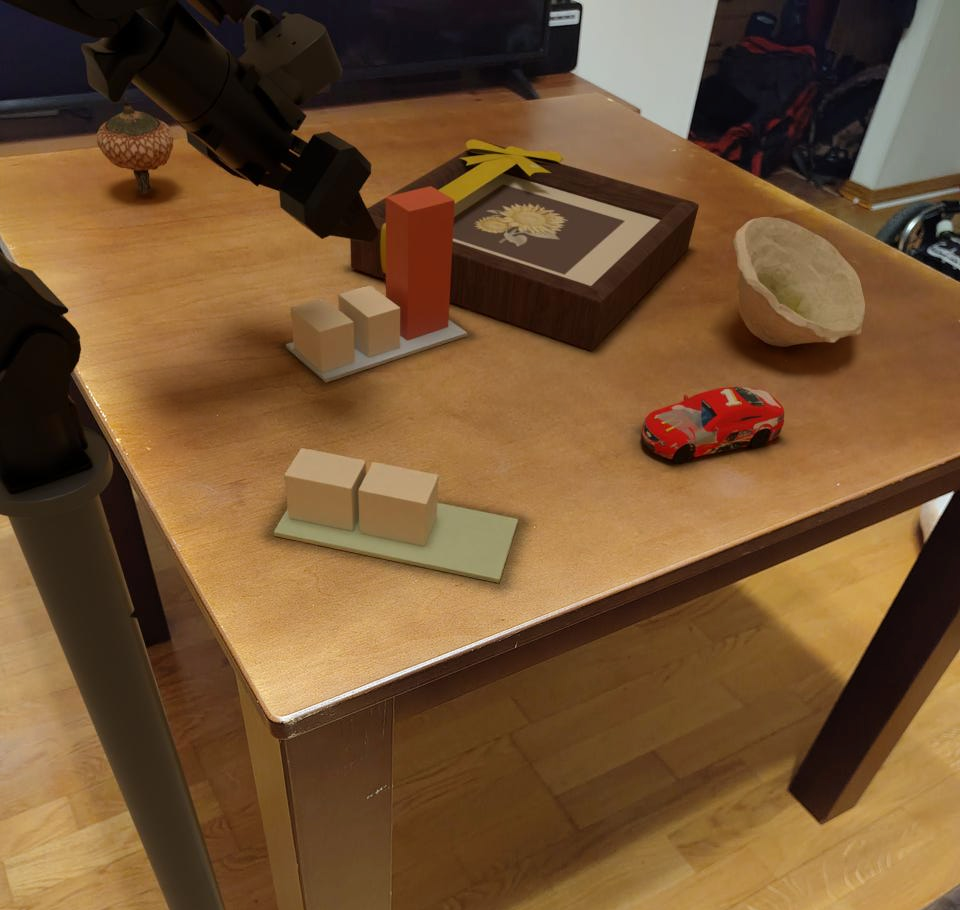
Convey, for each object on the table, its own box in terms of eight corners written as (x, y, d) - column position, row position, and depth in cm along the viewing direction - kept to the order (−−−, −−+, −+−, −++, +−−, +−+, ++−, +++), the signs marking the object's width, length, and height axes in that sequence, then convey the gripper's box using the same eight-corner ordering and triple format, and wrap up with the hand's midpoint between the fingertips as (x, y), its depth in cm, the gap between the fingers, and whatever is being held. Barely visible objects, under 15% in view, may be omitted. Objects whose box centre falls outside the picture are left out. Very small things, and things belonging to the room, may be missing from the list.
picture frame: (345, 206, 89) (487, 126, 107) (347, 271, 94) (482, 183, 112) (601, 290, 81) (706, 188, 100) (589, 355, 86) (691, 247, 105)
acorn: (149, 174, 107) (132, 79, 100) (198, 194, 104) (183, 98, 97) (93, 193, 102) (70, 95, 95) (142, 214, 99) (122, 116, 92)
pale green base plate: (273, 535, 65) (267, 488, 62) (307, 479, 70) (303, 432, 67) (499, 583, 64) (505, 536, 60) (517, 522, 68) (524, 476, 65)
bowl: (805, 394, 84) (845, 293, 77) (682, 336, 90) (708, 236, 83) (875, 342, 92) (917, 245, 85) (758, 291, 98) (788, 197, 91)
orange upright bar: (407, 340, 85) (409, 211, 76) (385, 325, 86) (385, 196, 77) (448, 326, 87) (455, 199, 78) (427, 311, 89) (431, 185, 80)
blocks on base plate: (325, 382, 79) (323, 337, 76) (286, 348, 83) (281, 303, 80) (467, 336, 87) (470, 293, 84) (425, 305, 90) (426, 263, 87)
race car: (656, 470, 74) (667, 429, 71) (627, 433, 78) (636, 393, 75) (787, 444, 78) (803, 405, 75) (754, 411, 81) (767, 372, 78)
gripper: (342, 11, 54) (470, 169, 68) (197, -57, 64) (335, 94, 77) (243, 170, 57) (386, 293, 70) (116, 83, 66) (264, 207, 79)
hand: (342, 215), depth 74 cm, fingers open, 9 cm apart
